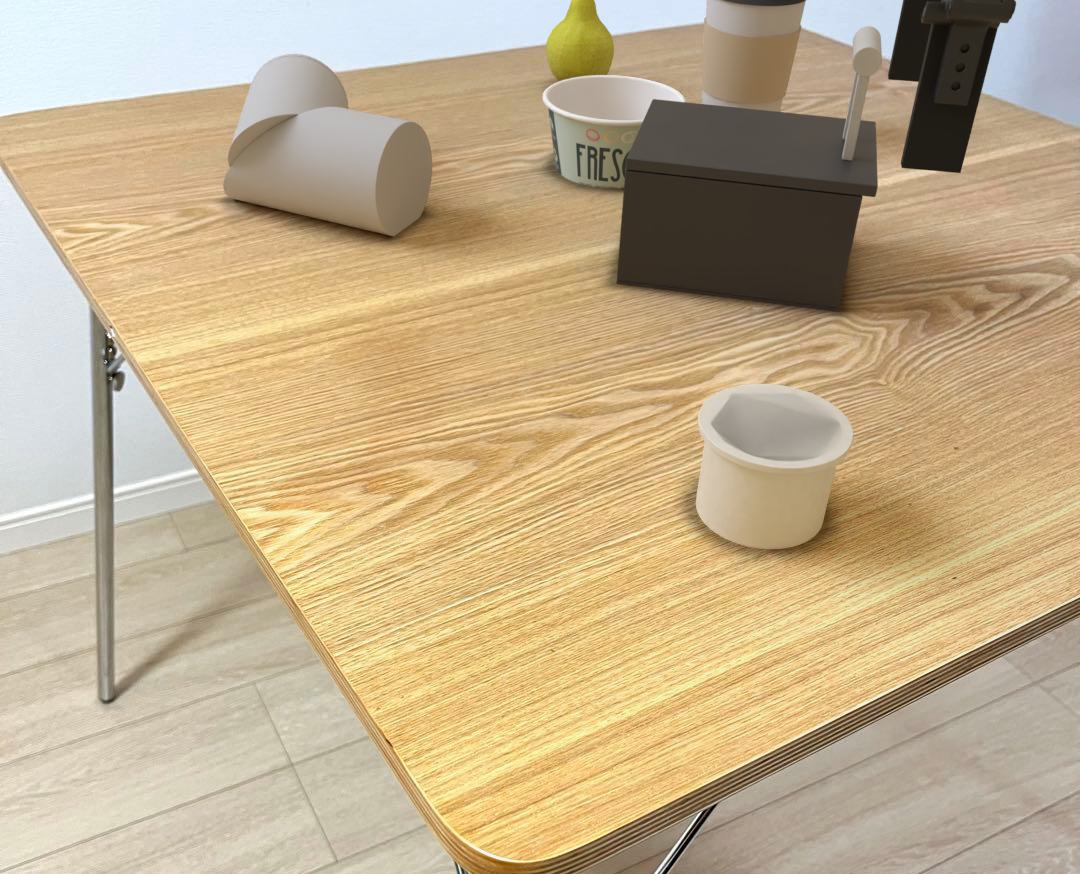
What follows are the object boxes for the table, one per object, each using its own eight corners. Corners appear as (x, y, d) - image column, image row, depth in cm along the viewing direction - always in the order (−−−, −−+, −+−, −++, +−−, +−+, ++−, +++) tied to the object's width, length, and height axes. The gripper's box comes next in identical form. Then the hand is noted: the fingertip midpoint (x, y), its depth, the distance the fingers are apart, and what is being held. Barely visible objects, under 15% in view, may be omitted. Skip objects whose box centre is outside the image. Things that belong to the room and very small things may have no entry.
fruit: (612, 100, 114) (620, -31, 106) (543, 97, 114) (548, -33, 106) (610, 78, 119) (619, -48, 112) (545, 76, 119) (549, -50, 112)
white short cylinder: (832, 486, 64) (854, 394, 60) (829, 574, 58) (853, 478, 54) (693, 465, 65) (706, 374, 61) (677, 550, 59) (690, 454, 55)
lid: (873, 132, 83) (898, 14, 78) (875, 197, 74) (904, 67, 68) (651, 109, 86) (662, -7, 81) (625, 169, 76) (635, 42, 71)
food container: (660, 146, 104) (667, 73, 100) (693, 198, 95) (703, 119, 91) (530, 150, 103) (532, 75, 98) (552, 203, 93) (555, 123, 89)
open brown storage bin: (838, 244, 89) (862, 131, 83) (836, 319, 79) (862, 197, 74) (641, 221, 91) (651, 110, 86) (615, 290, 82) (625, 170, 76)
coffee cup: (762, 160, 102) (790, -21, 93) (672, 138, 106) (690, -38, 97) (799, 131, 109) (829, -41, 99) (713, 112, 112) (734, -56, 103)
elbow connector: (143, 195, 89) (362, 248, 83) (137, 49, 84) (370, 94, 78) (277, 171, 104) (473, 214, 97) (280, 46, 99) (485, 83, 93)
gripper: (924, -409, 56) (843, 45, 69) (978, -425, 37) (852, 207, 50) (1084, -406, 55) (970, 55, 68) (1225, -420, 36) (1029, 223, 49)
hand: (920, 120), depth 59 cm, fingers open, 13 cm apart
